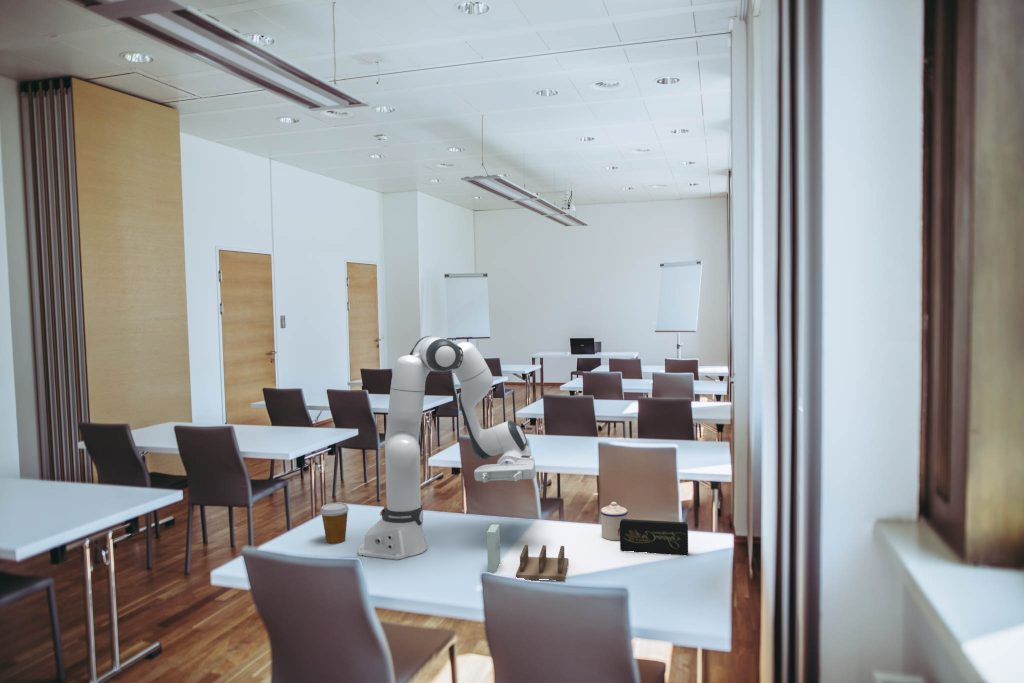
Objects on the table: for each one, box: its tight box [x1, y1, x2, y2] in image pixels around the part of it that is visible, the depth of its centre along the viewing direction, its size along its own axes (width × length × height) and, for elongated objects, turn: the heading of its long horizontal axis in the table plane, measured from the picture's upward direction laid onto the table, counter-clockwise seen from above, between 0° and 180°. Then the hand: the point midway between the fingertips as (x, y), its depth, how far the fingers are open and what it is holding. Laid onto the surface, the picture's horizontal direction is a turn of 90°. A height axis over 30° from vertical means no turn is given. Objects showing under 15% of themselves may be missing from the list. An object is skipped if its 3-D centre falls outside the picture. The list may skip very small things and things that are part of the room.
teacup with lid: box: [600, 501, 629, 541], centre depth 228 cm, size 12×9×12 cm
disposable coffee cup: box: [319, 502, 350, 545], centre depth 231 cm, size 10×10×12 cm
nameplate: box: [619, 518, 689, 556], centre depth 212 cm, size 21×2×10 cm, turn 75°
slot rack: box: [515, 544, 569, 583], centre depth 199 cm, size 14×14×6 cm
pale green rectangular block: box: [486, 523, 501, 573], centre depth 203 cm, size 2×7×12 cm, turn 170°
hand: (499, 479), depth 213 cm, fingers open, 8 cm apart
